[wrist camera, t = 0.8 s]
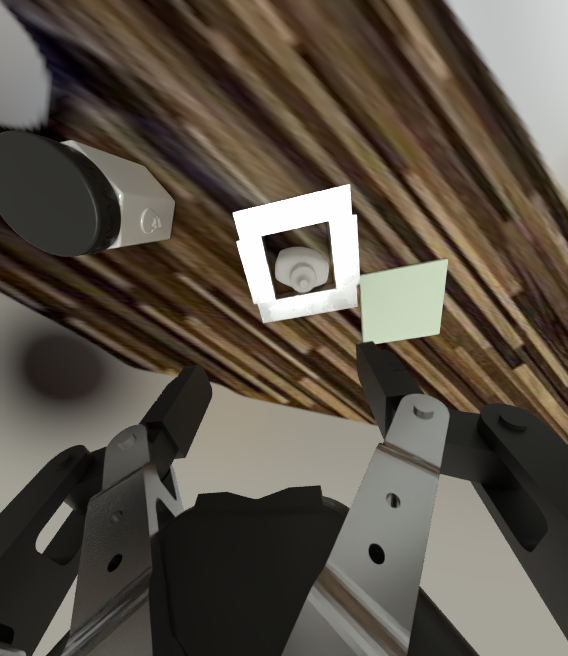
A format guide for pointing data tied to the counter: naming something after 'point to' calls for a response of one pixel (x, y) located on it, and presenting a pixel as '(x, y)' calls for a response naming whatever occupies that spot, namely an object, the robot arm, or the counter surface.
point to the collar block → (291, 215)
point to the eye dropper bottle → (301, 268)
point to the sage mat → (402, 301)
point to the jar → (78, 196)
